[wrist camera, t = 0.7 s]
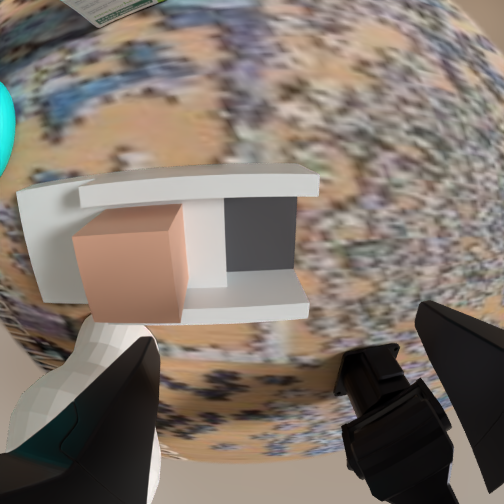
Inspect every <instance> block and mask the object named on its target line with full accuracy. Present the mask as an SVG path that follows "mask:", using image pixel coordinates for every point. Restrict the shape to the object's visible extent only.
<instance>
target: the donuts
mask: <svg viewBox="0 0 504 504" xmlns="http://www.w3.org/2000/svg"><path fill="white" fill-rule="evenodd" d="M14 137H15V110H14V105H13V101H12V98H11V96H10V93H9V92H8V90H7V88H6V87H5V86H4V84H3V83H1V82H0V177H1V175H2V173H3V172H4V170H5V168H6V166H7V164H8V161H9V158H10V155H11V152H12V148H13V143H14Z"/></svg>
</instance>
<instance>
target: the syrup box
mask: <svg viewBox="0 0 504 504" xmlns="http://www.w3.org/2000/svg"><path fill="white" fill-rule="evenodd" d="M60 1H62V2H64V3H65V4H66V5H68V6H69V7H71V8H72V9H74V10H75V11H76V12H78V13H79V14H81V15H82V16H83V17H84V18H86V19H87V20H88V21H89V22H90V23H92V24H93V25H94V26H96V27H97V28H101V27H103V26H105V25H106V24H108V23H110V22H113V21H114V20H117V19H120V18H122V17H124V16H127V15H129V14H131V13H134V12H136V11H138V10H141V9H143V8H146V7H148V6H151V5H154V4H156V3H159V2H162V1H165V0H60Z"/></svg>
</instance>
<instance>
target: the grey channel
mask: <svg viewBox="0 0 504 504" xmlns="http://www.w3.org/2000/svg"><path fill="white" fill-rule="evenodd" d="M319 179H320V174H318V173H316V172H314V171H312V170H310V169H308V168H306V167H304V166H302V165H299V164H297V163H237V164H208V165H189V166H173V167H160V168H148V169H138V170H128V171H119V172H111V173H102V174H95V175H88V176H81V177H74V178H68V179H61V180H55V181H50V182H44V183H39V184H34V185H31V186H29V187H26V188H24V189H22V190H19V191H17V192H16V194H17V200H18V206H19V212H20V217H21V222H22V227H23V232H24V236H25V240H26V245H27V249H28V253H29V256H30V260H31V264H32V267H33V271H34V274H35V277H36V281H37V284H38V287H39V290H40V293H41V296H42V299H43V302H44V303H71V304H88V301H87V297H86V294H85V290H84V287H83V283H82V279H81V275H80V271H79V267H78V263H77V259H76V255H75V250H74V246H73V241H72V236H73V235H74V234H76V233H77V232H78V231H79V230H80V229H82V228H83V227H84V226H85V225H86V224H88V223H89V222H90V221H91V220H93V219H94V218H95V217H97V216H98V215H99V214H100V213H102V212H103V211H104V210H105V209H112V208H123V207H136V206H150V205H165V204H182V207H183V220H184V233H185V244H186V255H187V265H188V274H189V280H188V285H187V290H186V295H185V301H184V306H183V312H182V317H181V323H108V325H205V324H231V323H251V322H267V321H281V320H294V319H305V318H308V313H309V304H310V302H309V300H308V298H307V296H306V294H305V292H304V290H303V288H302V286H301V283H300V281H299V279H298V277H297V275H296V273H295V271H294V269H293V268H294V251H295V233H296V212H297V196H319Z"/></svg>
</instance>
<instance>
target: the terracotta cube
mask: <svg viewBox="0 0 504 504" xmlns="http://www.w3.org/2000/svg"><path fill="white" fill-rule="evenodd" d="M72 241H73V246H74V250H75V255H76V259H77V263H78V267H79V271H80V275H81V279H82V283H83V287H84V290H85V294H86V297H87V301H88V304H89V307H90V310H91V314H92V317H93V320H94V322H100V323H181V317H182V312H183V306H184V301H185V295H186V290H187V285H188V280H189V274H188V265H187V255H186V244H185V233H184V220H183V207H182V204H165V205H150V206H136V207H123V208H112V209H105V210H104V211H103V212H102V213H100V214H99V215H98V216H97V217H95V218H94V219H93V220H91V221H90V222H89V223H88V224H86V225H85V226H84V227H83V228H82V229H80V230H79V231H78V232H77V233H76V234H74V235H73V236H72Z"/></svg>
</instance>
